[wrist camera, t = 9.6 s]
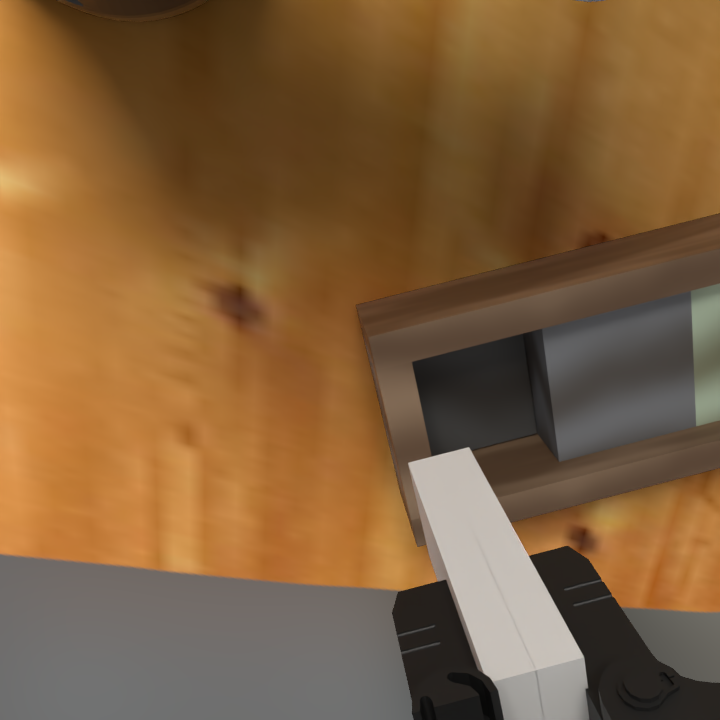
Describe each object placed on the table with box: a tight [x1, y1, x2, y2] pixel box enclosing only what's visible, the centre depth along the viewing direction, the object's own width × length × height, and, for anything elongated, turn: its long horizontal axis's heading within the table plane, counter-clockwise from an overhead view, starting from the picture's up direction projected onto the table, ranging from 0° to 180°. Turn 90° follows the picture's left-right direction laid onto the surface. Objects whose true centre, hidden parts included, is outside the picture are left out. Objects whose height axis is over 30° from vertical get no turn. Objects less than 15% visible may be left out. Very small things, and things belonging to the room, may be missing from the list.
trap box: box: [356, 213, 720, 547], centre depth 43 cm, size 14×38×6 cm, turn 103°
